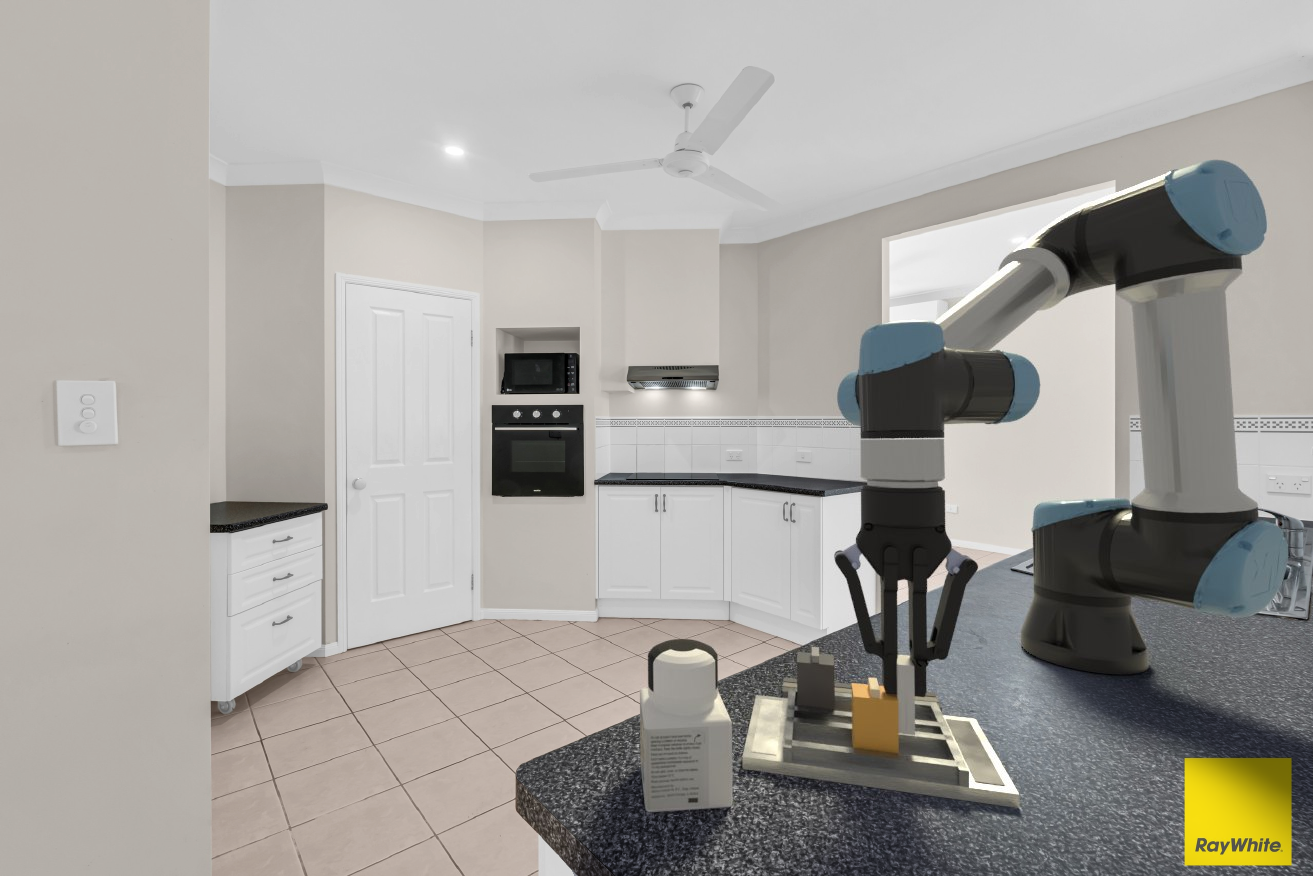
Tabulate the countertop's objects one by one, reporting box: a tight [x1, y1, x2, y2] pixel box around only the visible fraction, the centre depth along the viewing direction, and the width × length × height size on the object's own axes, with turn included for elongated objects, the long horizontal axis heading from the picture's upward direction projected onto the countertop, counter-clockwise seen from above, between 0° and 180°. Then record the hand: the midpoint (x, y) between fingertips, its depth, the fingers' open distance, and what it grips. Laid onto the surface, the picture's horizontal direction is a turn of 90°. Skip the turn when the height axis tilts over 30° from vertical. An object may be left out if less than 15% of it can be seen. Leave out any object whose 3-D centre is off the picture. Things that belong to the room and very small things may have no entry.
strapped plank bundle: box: [781, 677, 943, 713], centre depth 70 cm, size 18×5×2 cm, turn 75°
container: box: [639, 638, 733, 813], centre depth 54 cm, size 8×8×13 cm
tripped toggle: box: [850, 677, 899, 754], centre depth 56 cm, size 4×3×7 cm
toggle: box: [796, 646, 836, 710], centre depth 65 cm, size 4×3×7 cm
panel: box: [742, 687, 1020, 809], centre depth 60 cm, size 24×14×3 cm, turn 75°
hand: (904, 727), depth 55 cm, fingers closed
